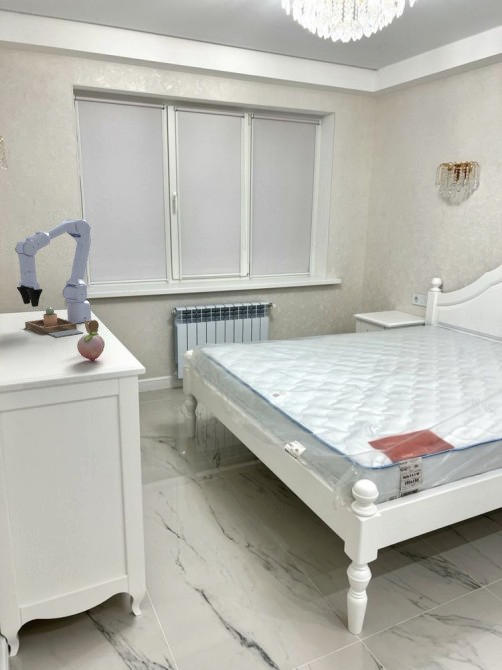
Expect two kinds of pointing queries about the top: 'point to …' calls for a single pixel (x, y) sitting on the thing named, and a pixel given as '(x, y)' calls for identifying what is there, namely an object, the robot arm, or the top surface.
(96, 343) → the decorative fruit
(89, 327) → the snail figurine
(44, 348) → the top surface
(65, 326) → the frame
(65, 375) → the top surface
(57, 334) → the mat
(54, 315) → the terracotta pot
